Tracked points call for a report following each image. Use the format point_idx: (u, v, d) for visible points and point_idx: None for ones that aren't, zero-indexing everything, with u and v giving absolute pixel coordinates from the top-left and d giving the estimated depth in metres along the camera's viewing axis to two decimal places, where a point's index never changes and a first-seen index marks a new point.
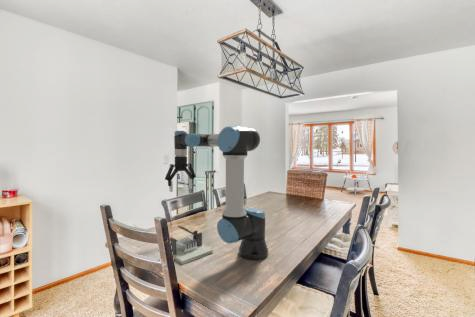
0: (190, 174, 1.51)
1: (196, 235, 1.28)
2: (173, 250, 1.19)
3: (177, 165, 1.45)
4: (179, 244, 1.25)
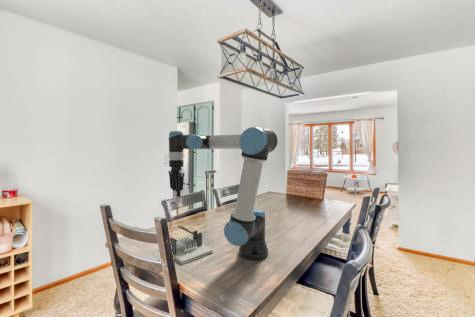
0: (176, 184, 1.29)
1: (196, 235, 1.28)
2: (173, 250, 1.19)
3: (171, 169, 1.32)
4: (179, 244, 1.25)
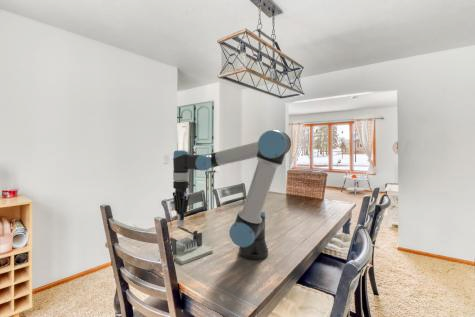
0: (180, 207, 1.21)
1: (196, 235, 1.28)
2: (173, 250, 1.19)
3: (175, 190, 1.24)
4: (179, 244, 1.25)
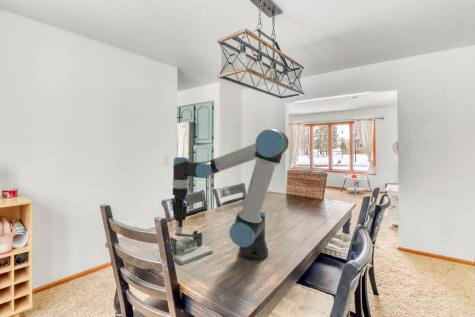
0: (178, 214, 1.21)
1: (196, 236, 1.28)
2: (173, 250, 1.19)
3: (175, 197, 1.23)
4: (179, 244, 1.25)
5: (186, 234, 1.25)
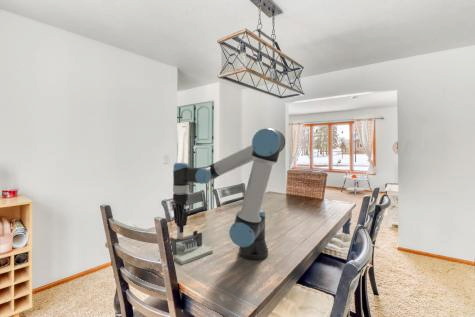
0: (179, 220, 1.21)
1: (195, 237, 1.28)
2: (173, 250, 1.19)
3: (175, 202, 1.24)
4: (179, 244, 1.25)
5: (185, 237, 1.25)
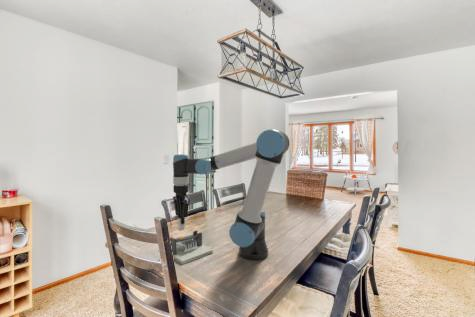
0: (180, 211, 1.21)
1: (195, 237, 1.28)
2: (173, 250, 1.19)
3: (176, 194, 1.24)
4: (179, 244, 1.25)
5: (185, 237, 1.25)
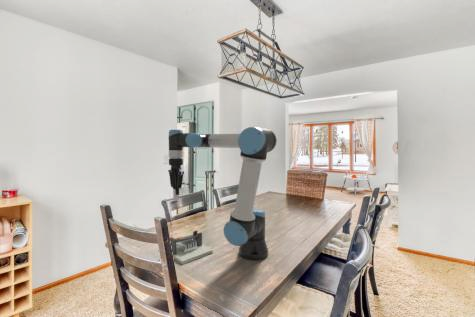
0: (175, 183, 1.30)
1: (195, 237, 1.28)
2: (173, 250, 1.19)
3: (171, 167, 1.33)
4: (179, 244, 1.25)
5: (185, 237, 1.25)
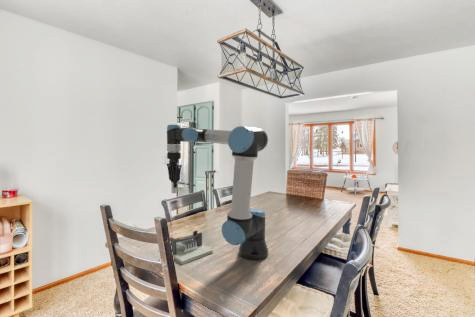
0: (173, 176, 1.35)
1: (195, 237, 1.28)
2: (173, 250, 1.19)
3: (169, 161, 1.38)
4: (179, 244, 1.25)
5: (185, 237, 1.25)
